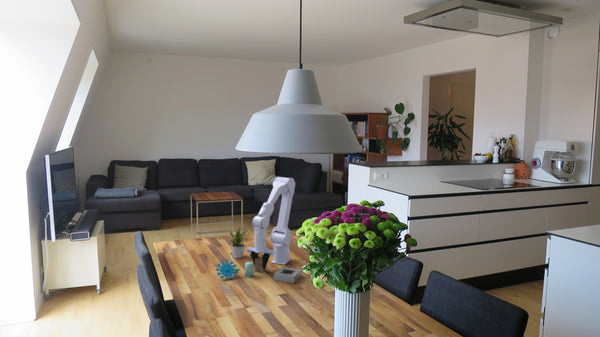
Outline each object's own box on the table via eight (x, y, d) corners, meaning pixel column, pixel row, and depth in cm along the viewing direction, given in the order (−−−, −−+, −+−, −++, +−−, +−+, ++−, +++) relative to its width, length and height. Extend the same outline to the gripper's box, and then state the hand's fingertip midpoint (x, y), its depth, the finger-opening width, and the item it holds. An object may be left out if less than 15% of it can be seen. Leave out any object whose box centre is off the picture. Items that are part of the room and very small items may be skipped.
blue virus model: (216, 278, 198) (216, 258, 204) (214, 283, 202) (215, 264, 208) (240, 279, 201) (240, 259, 207) (237, 285, 205) (238, 265, 211)
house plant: (257, 258, 231) (257, 228, 229) (234, 263, 223) (234, 231, 222) (245, 251, 243) (245, 222, 241) (222, 255, 235) (222, 225, 233)
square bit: (258, 268, 215) (258, 256, 215) (265, 270, 214) (265, 257, 213) (254, 271, 212) (254, 258, 211) (262, 272, 210) (262, 259, 209)
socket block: (282, 273, 210) (282, 267, 210) (301, 275, 207) (301, 269, 206) (273, 280, 201) (273, 273, 200) (294, 283, 197) (294, 276, 197)
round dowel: (247, 273, 209) (247, 261, 208) (255, 274, 207) (255, 262, 206) (243, 276, 205) (243, 264, 204) (251, 277, 203) (251, 265, 203)
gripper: (243, 240, 210) (243, 268, 211) (270, 244, 205) (270, 272, 206) (249, 237, 216) (249, 263, 218) (276, 240, 211) (276, 267, 213)
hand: (260, 267), depth 213 cm, fingers closed on square bit, 4 cm apart
